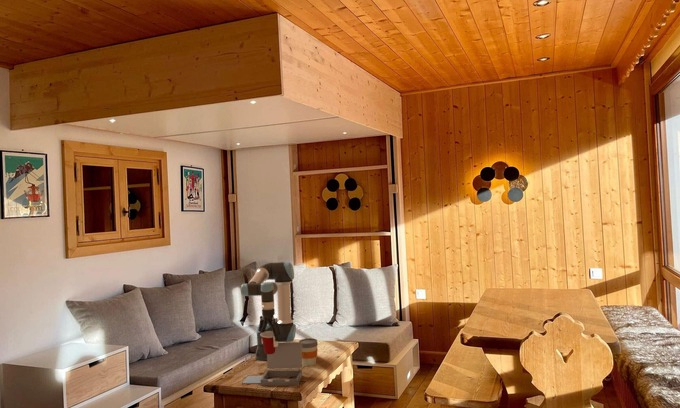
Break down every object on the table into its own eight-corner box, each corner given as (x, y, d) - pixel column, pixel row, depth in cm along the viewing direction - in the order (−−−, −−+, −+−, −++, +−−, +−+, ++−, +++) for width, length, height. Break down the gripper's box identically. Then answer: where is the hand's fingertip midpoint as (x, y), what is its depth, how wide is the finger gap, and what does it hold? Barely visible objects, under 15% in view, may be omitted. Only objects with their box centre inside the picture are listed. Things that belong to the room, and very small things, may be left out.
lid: (266, 370, 329) (267, 369, 331) (301, 370, 327) (302, 369, 329) (266, 342, 332) (267, 342, 333) (301, 342, 329) (301, 342, 331)
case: (267, 376, 330) (266, 370, 330) (302, 375, 328) (302, 370, 328) (260, 386, 313) (260, 380, 313) (297, 386, 311) (297, 380, 311)
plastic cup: (267, 357, 315) (266, 336, 314) (257, 353, 323) (256, 333, 323) (282, 353, 321) (281, 333, 321) (273, 349, 330) (272, 329, 329)
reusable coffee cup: (316, 367, 343) (315, 343, 343) (297, 366, 346) (296, 343, 346) (320, 360, 356) (319, 338, 355) (302, 360, 358) (301, 338, 358)
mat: (247, 376, 330) (247, 376, 330) (265, 376, 329) (265, 375, 329) (242, 384, 318) (242, 383, 318) (260, 383, 317) (260, 382, 317)
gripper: (251, 307, 327) (253, 343, 327) (275, 312, 311) (277, 349, 311) (261, 304, 332) (262, 340, 333) (285, 309, 316) (287, 346, 317)
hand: (269, 344), depth 322 cm, fingers closed on plastic cup, 11 cm apart
